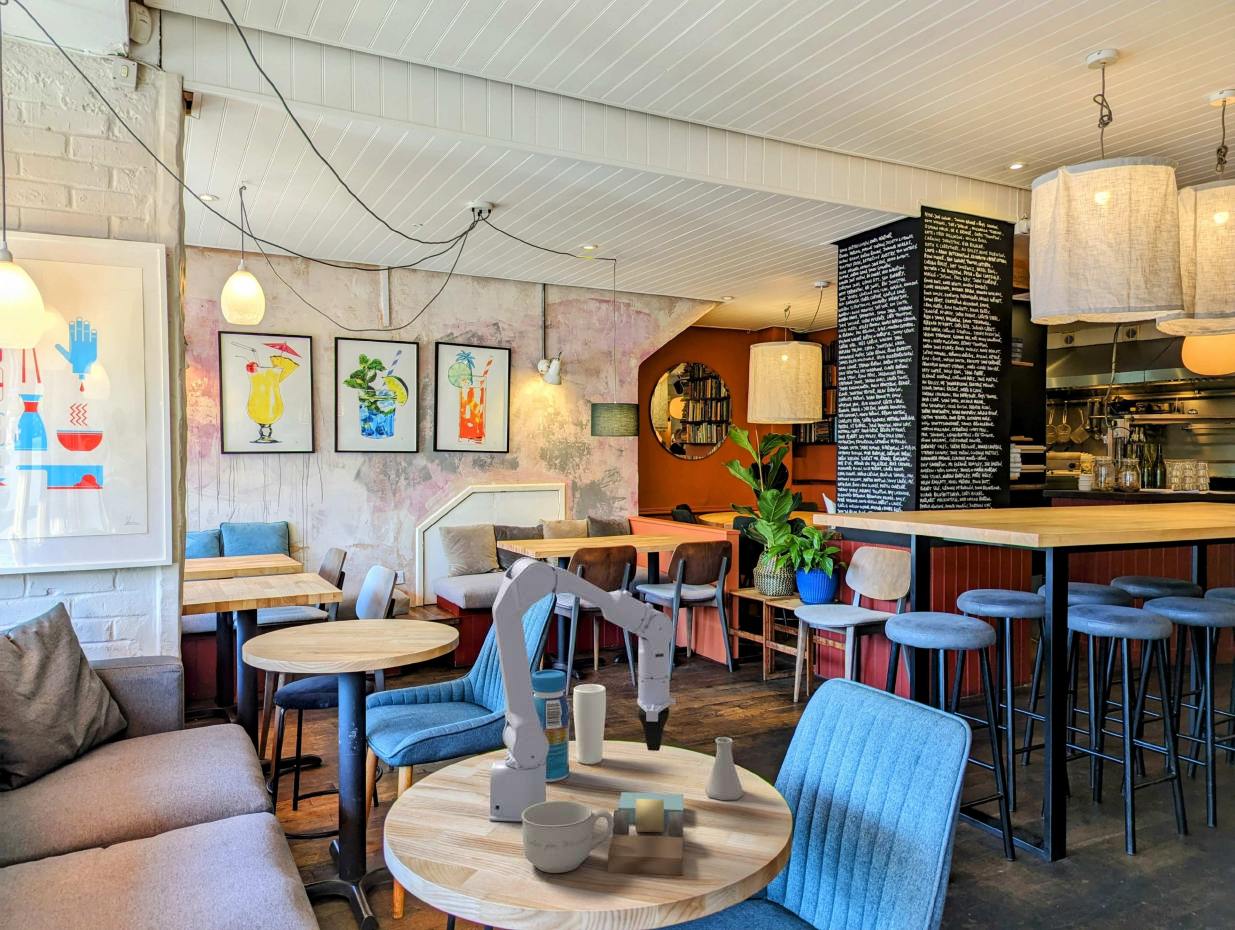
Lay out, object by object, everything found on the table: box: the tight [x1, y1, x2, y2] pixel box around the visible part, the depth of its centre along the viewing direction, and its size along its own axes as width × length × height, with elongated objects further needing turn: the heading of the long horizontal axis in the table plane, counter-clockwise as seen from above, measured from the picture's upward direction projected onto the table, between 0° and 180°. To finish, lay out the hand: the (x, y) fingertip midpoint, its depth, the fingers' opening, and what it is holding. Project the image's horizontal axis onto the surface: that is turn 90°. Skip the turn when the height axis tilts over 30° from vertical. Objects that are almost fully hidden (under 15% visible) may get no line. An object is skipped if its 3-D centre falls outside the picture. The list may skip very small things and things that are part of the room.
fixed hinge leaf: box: [607, 809, 684, 876], centre depth 126 cm, size 11×12×5 cm
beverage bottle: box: [531, 669, 571, 783], centre depth 160 cm, size 8×8×20 cm
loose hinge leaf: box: [617, 791, 684, 833], centre depth 139 cm, size 11×12×5 cm
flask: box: [704, 736, 745, 801], centre depth 151 cm, size 7×7×10 cm
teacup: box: [522, 800, 614, 874], centre depth 123 cm, size 14×11×8 cm
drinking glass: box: [572, 683, 607, 765], centre depth 168 cm, size 7×7×15 cm
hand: (653, 749), depth 150 cm, fingers closed
